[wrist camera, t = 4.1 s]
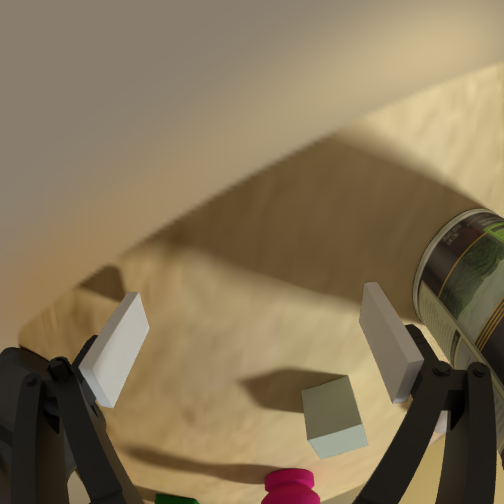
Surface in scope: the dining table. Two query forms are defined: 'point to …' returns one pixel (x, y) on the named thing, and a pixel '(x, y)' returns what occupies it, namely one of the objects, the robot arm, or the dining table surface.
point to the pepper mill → (290, 487)
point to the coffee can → (467, 297)
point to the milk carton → (173, 500)
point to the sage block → (333, 418)
